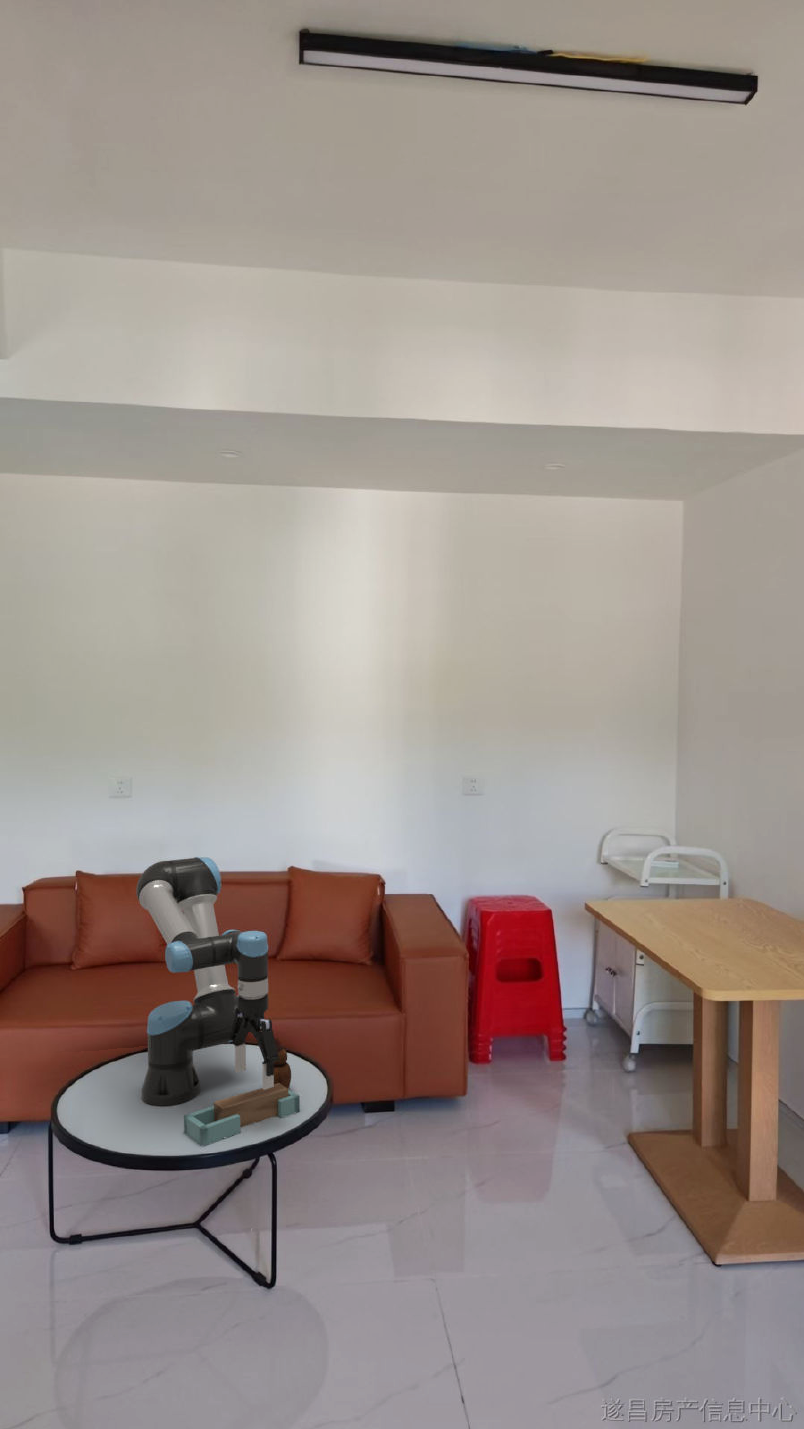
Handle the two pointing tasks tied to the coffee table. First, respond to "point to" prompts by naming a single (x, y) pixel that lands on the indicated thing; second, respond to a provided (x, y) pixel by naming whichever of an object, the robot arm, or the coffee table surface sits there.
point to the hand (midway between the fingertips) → (254, 1079)
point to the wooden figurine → (282, 1067)
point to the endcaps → (228, 1121)
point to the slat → (251, 1105)
